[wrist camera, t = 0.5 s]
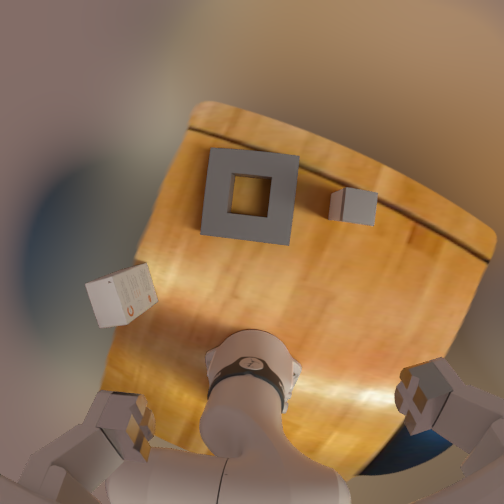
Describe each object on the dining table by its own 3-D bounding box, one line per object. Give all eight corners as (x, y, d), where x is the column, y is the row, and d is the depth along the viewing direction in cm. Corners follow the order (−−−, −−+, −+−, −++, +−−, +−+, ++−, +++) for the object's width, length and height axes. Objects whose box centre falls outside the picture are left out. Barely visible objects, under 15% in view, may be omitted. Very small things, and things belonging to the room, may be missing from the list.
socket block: (288, 243, 51) (289, 245, 47) (206, 233, 52) (200, 234, 48) (298, 160, 49) (299, 155, 45) (215, 152, 50) (210, 147, 46)
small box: (121, 269, 55) (83, 282, 42) (147, 261, 54) (112, 275, 41) (133, 307, 56) (99, 329, 43) (159, 302, 55) (128, 324, 42)
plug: (353, 223, 50) (374, 226, 38) (328, 219, 50) (342, 221, 38) (356, 197, 49) (377, 192, 37) (331, 193, 49) (346, 187, 38)
